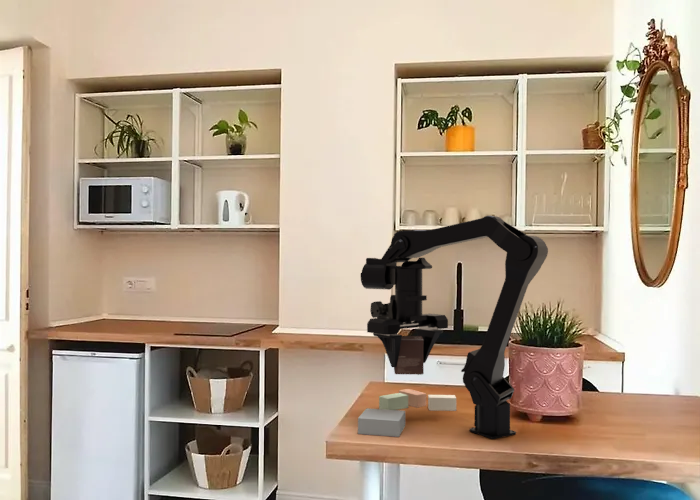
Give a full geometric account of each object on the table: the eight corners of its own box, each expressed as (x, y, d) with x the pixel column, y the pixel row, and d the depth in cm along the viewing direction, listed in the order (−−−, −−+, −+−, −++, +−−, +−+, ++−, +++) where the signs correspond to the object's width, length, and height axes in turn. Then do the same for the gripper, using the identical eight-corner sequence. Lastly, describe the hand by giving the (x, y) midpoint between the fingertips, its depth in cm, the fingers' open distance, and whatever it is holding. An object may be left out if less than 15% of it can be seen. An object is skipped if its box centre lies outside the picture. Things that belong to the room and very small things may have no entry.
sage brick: (399, 405, 145) (399, 392, 145) (408, 408, 142) (408, 395, 142) (379, 409, 141) (379, 396, 141) (387, 412, 139) (387, 398, 139)
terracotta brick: (426, 406, 144) (426, 393, 144) (416, 408, 142) (417, 395, 142) (408, 401, 149) (408, 388, 149) (398, 403, 147) (398, 390, 147)
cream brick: (454, 408, 143) (454, 395, 143) (456, 411, 140) (456, 398, 140) (428, 407, 143) (428, 394, 143) (429, 411, 140) (429, 397, 140)
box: (423, 375, 129) (423, 339, 129) (394, 375, 129) (394, 339, 129) (421, 369, 135) (422, 335, 135) (393, 369, 135) (393, 335, 135)
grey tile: (405, 425, 127) (405, 410, 127) (398, 436, 119) (399, 421, 120) (366, 422, 129) (366, 408, 129) (357, 433, 121) (357, 418, 121)
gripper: (412, 287, 144) (412, 355, 144) (349, 290, 132) (349, 364, 132) (449, 289, 136) (449, 362, 136) (385, 292, 124) (385, 372, 124)
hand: (408, 364), depth 132 cm, fingers closed on box, 8 cm apart
